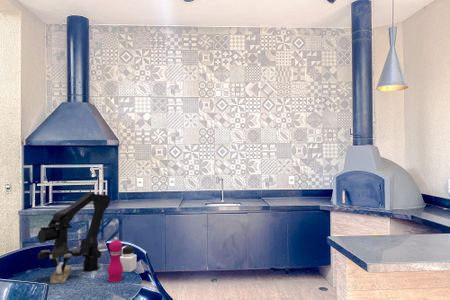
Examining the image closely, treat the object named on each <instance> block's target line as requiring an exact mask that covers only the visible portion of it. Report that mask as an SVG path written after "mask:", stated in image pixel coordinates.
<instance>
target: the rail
mask: <svg viewBox="0 0 450 300" xmlns="http://www.w3.org/2000/svg"><path fill="white" fill-rule="evenodd" d="M71 273H72V265H66V266H65V269H64V272H62V275H57V270H56V269H55V270H54V271H53V273H52V274H51V275H50V284H59V283H63V284H64V283H65V282H66V280H67V279H68V277H69V276H70V274H71Z"/></svg>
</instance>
